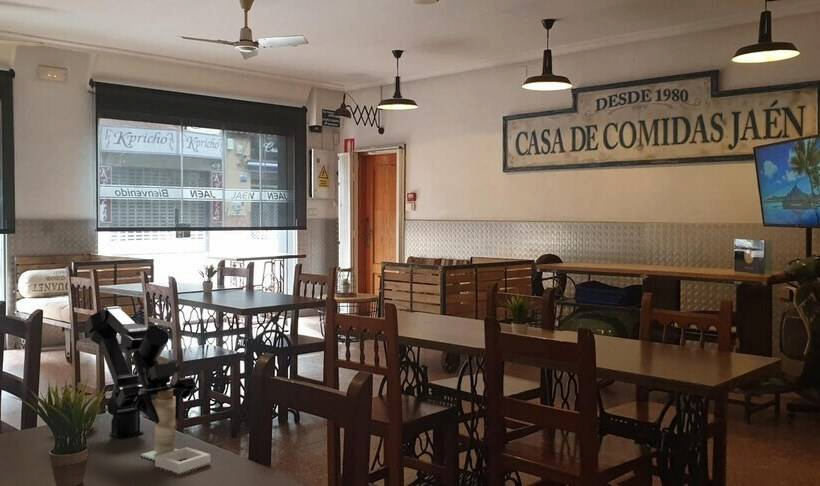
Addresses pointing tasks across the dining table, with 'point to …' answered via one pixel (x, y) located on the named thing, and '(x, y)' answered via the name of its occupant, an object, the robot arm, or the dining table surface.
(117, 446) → the dining table surface
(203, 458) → the pocket holder
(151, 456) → the rubber mat
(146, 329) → the robot arm
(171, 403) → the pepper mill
